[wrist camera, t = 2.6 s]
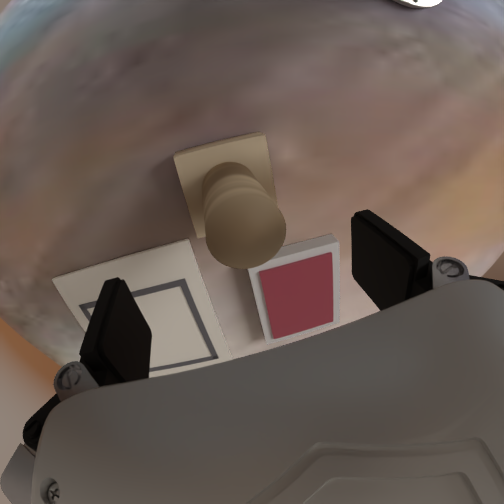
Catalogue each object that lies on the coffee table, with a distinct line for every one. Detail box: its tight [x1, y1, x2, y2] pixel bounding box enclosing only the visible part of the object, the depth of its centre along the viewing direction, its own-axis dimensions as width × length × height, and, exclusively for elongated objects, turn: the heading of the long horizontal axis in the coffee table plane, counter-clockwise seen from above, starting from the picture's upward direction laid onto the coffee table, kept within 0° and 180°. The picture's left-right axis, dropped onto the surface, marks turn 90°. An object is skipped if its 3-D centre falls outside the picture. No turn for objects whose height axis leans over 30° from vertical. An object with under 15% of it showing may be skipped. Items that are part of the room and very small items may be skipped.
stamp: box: [173, 132, 286, 269], centre depth 17 cm, size 6×6×10 cm
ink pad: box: [248, 234, 340, 345], centre depth 26 cm, size 10×8×2 cm
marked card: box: [52, 238, 233, 378], centre depth 27 cm, size 18×14×1 cm
